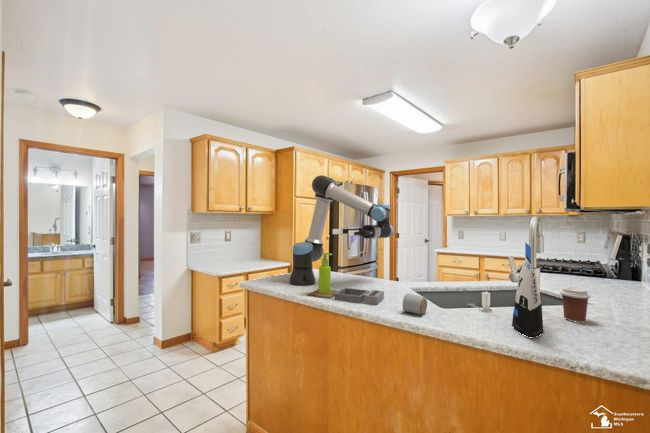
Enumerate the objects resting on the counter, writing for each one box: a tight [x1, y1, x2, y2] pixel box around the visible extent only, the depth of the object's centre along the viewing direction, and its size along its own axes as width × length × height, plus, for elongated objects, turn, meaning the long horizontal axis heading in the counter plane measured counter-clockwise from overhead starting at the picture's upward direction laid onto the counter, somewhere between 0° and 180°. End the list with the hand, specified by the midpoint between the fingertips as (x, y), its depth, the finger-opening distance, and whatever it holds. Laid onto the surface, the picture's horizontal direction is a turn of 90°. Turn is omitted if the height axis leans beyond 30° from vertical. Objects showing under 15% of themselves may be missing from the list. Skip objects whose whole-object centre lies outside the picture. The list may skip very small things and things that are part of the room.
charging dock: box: [334, 287, 385, 306], centre depth 146 cm, size 13×20×4 cm, turn 64°
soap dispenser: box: [318, 252, 333, 294], centre depth 153 cm, size 6×7×20 cm
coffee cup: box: [559, 286, 591, 323], centre depth 118 cm, size 9×9×12 cm
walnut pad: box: [307, 288, 339, 300], centre depth 154 cm, size 12×12×1 cm
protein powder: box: [511, 241, 544, 338], centre depth 110 cm, size 10×24×30 cm, turn 150°
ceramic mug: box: [402, 292, 428, 316], centre depth 127 cm, size 11×8×8 cm
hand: (340, 232), depth 159 cm, fingers open, 13 cm apart
